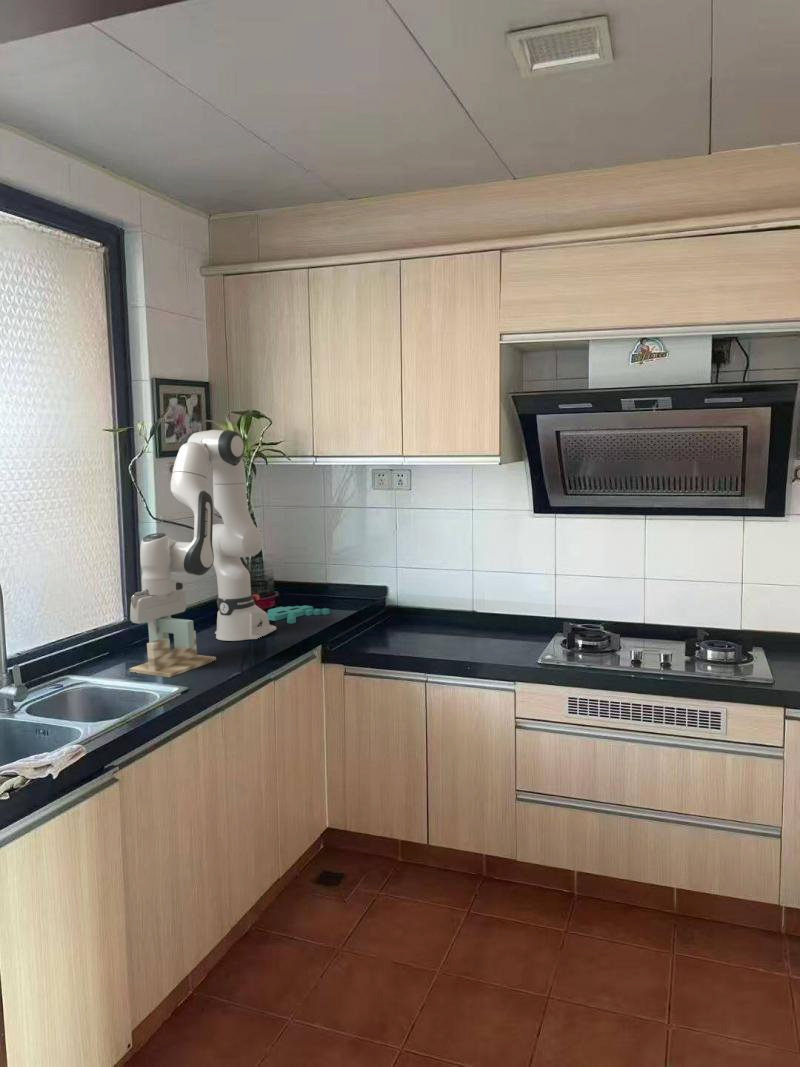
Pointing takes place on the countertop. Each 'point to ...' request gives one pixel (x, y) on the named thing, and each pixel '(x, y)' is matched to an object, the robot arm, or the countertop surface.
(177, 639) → the crossbar
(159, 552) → the robot arm
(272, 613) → the alien figure
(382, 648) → the countertop surface
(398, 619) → the countertop surface
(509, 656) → the countertop surface
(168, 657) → the slotted stand
